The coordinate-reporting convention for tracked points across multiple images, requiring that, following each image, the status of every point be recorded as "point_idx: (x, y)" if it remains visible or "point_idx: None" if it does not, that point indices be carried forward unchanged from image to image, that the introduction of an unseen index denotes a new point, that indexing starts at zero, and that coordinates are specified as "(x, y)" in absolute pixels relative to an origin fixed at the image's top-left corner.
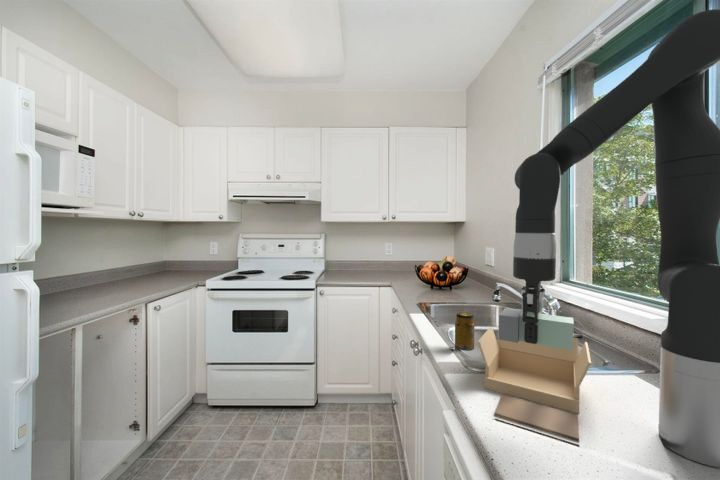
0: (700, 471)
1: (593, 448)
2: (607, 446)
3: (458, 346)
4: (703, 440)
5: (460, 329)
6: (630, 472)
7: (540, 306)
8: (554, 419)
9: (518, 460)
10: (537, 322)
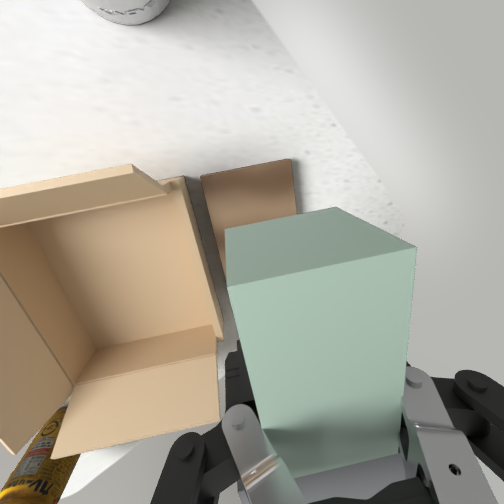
0: None
1: (273, 138)
2: (249, 118)
3: None
4: None
5: (64, 481)
6: (304, 78)
7: (483, 476)
8: (254, 206)
9: (376, 218)
10: (467, 376)
